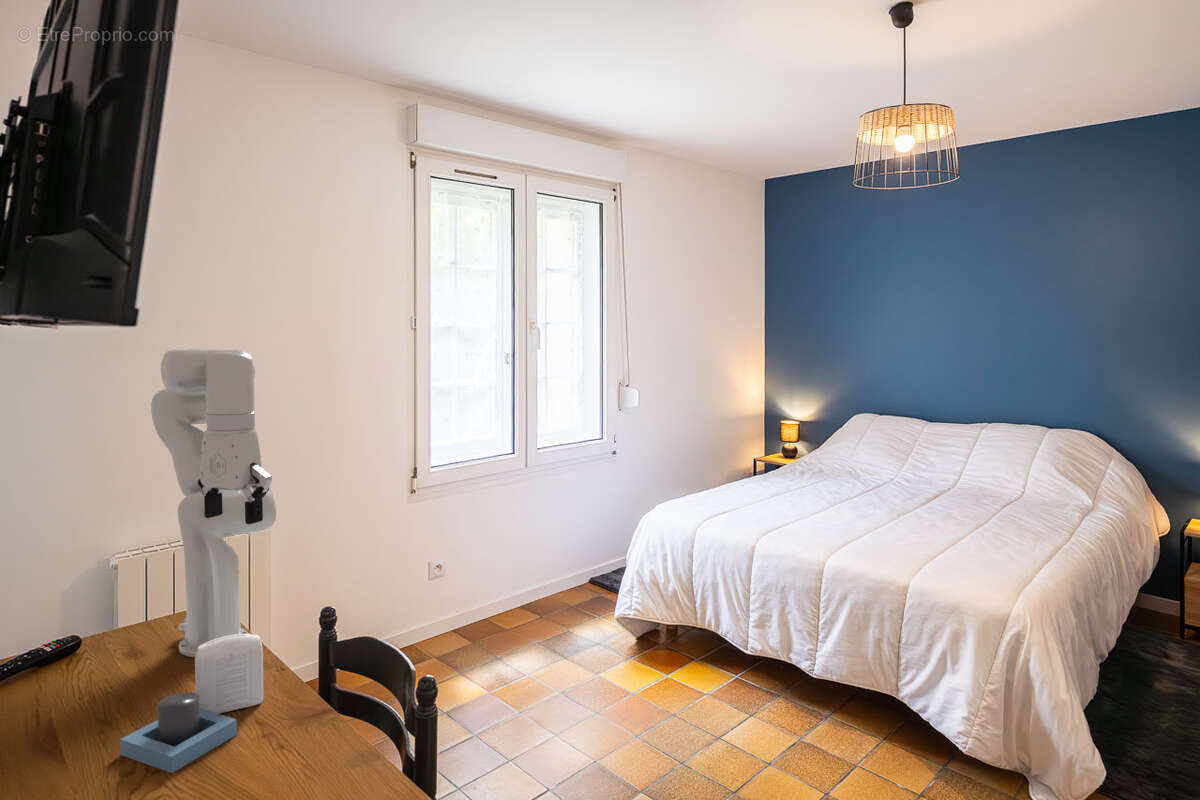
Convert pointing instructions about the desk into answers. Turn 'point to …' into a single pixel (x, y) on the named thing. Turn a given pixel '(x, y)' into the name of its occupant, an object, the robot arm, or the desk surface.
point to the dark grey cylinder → (178, 718)
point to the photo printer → (229, 673)
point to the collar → (171, 758)
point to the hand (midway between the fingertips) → (233, 519)
